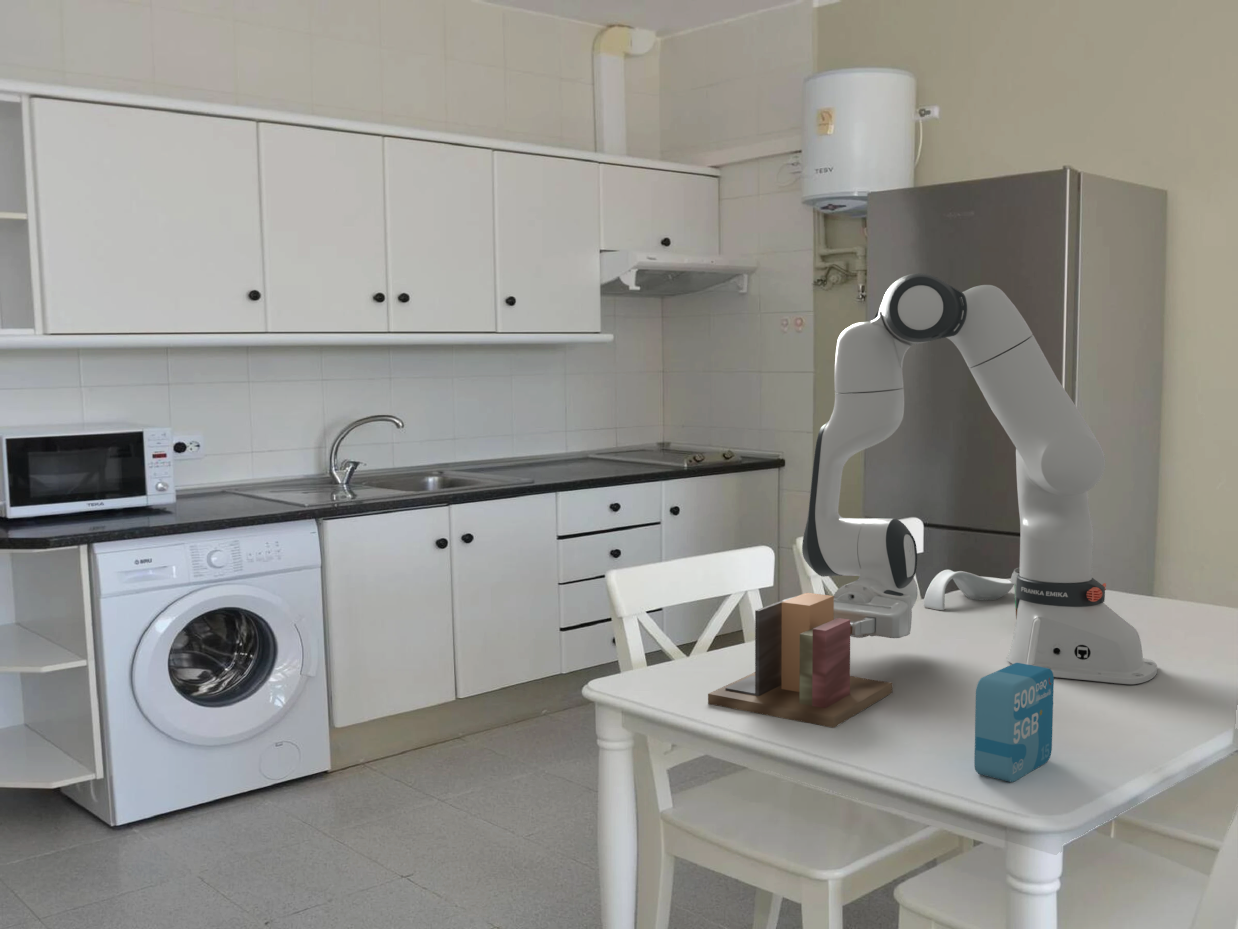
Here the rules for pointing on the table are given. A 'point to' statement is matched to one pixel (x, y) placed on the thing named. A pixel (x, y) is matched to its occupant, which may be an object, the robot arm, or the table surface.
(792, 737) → the table surface
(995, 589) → the spoon rest
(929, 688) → the table surface
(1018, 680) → the data package
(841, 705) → the wooden bookend stand
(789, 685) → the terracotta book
